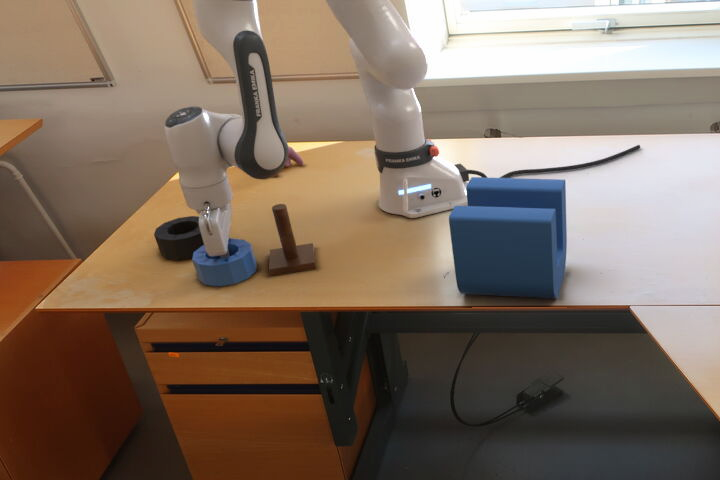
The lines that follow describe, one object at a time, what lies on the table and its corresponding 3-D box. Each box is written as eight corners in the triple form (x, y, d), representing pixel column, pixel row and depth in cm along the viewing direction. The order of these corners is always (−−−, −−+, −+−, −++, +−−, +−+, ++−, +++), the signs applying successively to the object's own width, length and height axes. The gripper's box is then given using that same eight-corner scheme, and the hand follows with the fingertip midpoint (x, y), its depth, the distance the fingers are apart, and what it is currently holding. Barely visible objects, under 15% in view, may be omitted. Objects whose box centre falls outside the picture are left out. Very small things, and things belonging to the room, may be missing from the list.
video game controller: (297, 167, 208) (284, 143, 206) (306, 163, 205) (293, 138, 202) (268, 180, 201) (254, 155, 199) (276, 176, 198) (262, 150, 196)
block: (554, 310, 142) (551, 220, 132) (459, 305, 145) (448, 217, 135) (567, 262, 157) (565, 178, 146) (480, 258, 159) (472, 175, 149)
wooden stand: (314, 249, 166) (301, 194, 159) (315, 268, 159) (302, 212, 152) (271, 255, 164) (256, 201, 157) (270, 275, 157) (254, 219, 150)
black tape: (217, 232, 174) (211, 213, 172) (214, 255, 166) (207, 234, 163) (165, 240, 172) (158, 220, 169) (158, 263, 163) (151, 243, 161)
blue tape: (257, 255, 165) (251, 235, 162) (255, 280, 156) (249, 259, 153) (202, 264, 163) (195, 243, 160) (197, 290, 154) (190, 268, 151)
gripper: (221, 212, 146) (240, 276, 154) (227, 172, 162) (245, 232, 170) (185, 217, 145) (207, 281, 153) (195, 176, 161) (215, 236, 169)
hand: (227, 255), depth 162 cm, fingers open, 3 cm apart
